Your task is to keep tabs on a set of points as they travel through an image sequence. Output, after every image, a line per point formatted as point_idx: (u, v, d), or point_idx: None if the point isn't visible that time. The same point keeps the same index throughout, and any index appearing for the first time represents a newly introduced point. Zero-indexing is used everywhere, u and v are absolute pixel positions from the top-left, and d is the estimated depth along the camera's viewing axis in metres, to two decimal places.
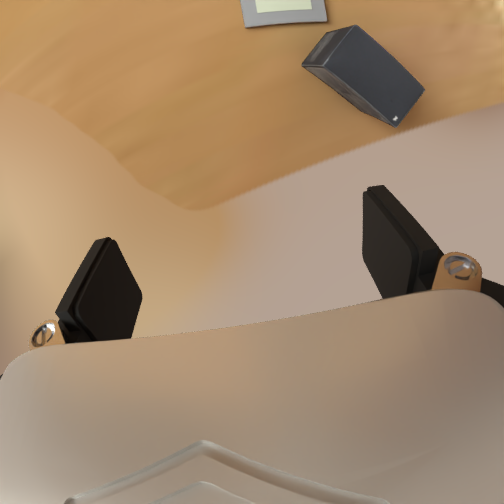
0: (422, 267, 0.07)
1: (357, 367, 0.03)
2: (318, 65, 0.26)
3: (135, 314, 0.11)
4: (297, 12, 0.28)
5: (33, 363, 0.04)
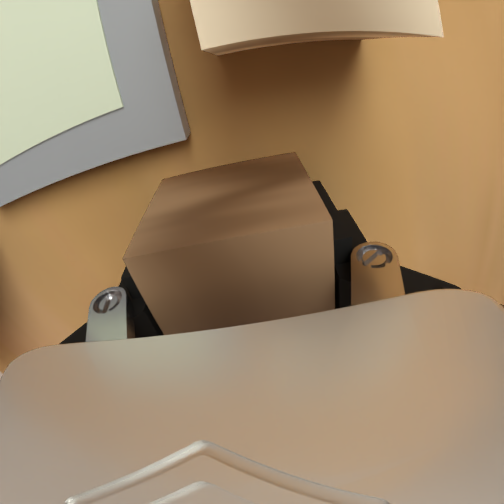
0: (338, 256, 0.08)
1: (357, 367, 0.03)
2: None
3: None
4: None
5: (33, 363, 0.04)
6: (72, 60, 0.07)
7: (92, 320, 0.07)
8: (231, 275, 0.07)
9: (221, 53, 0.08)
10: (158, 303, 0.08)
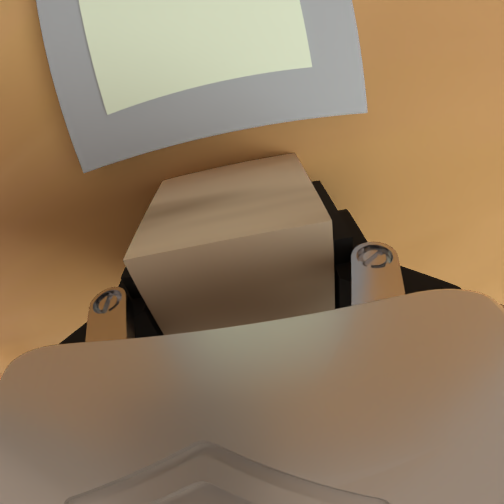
0: (338, 256, 0.08)
1: (356, 367, 0.03)
2: None
3: None
4: None
5: (33, 363, 0.04)
6: (161, 55, 0.08)
7: (92, 320, 0.07)
8: None
9: None
10: None
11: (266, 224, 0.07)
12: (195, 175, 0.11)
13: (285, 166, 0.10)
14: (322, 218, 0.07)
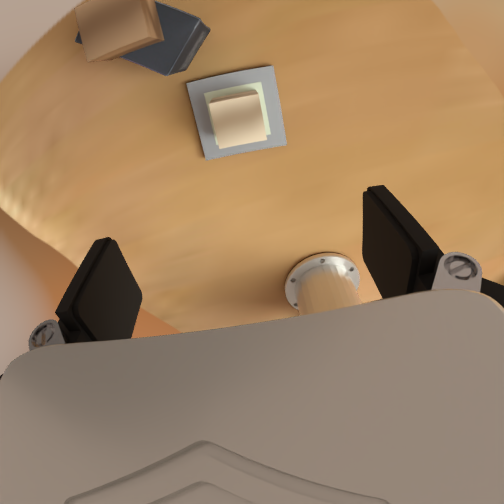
0: (422, 267, 0.07)
1: (357, 368, 0.03)
2: (201, 22, 0.21)
3: (135, 314, 0.11)
4: (219, 86, 0.31)
5: (33, 363, 0.04)
6: None
7: None
8: (127, 12, 0.15)
9: (211, 100, 0.31)
10: None
11: (244, 96, 0.28)
12: None
13: (251, 91, 0.31)
14: (256, 94, 0.28)
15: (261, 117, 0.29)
